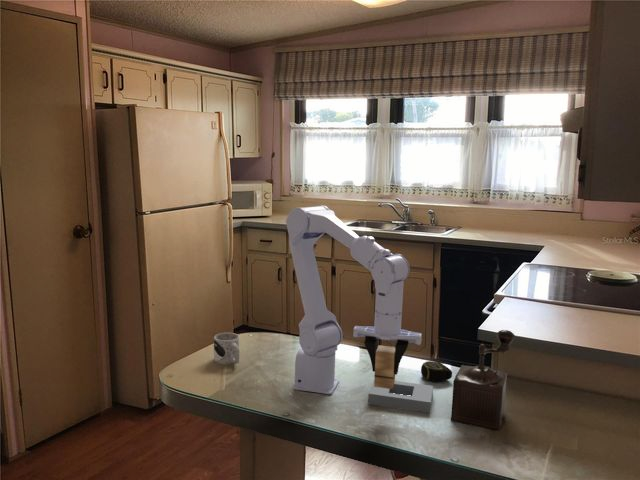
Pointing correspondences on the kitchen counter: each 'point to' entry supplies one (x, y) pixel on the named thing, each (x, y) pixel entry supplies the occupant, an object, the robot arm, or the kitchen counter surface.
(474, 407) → the manual coffee grinder
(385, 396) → the hole board
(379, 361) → the oak peg
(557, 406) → the kitchen counter surface
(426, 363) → the tape measure
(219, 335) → the mug
